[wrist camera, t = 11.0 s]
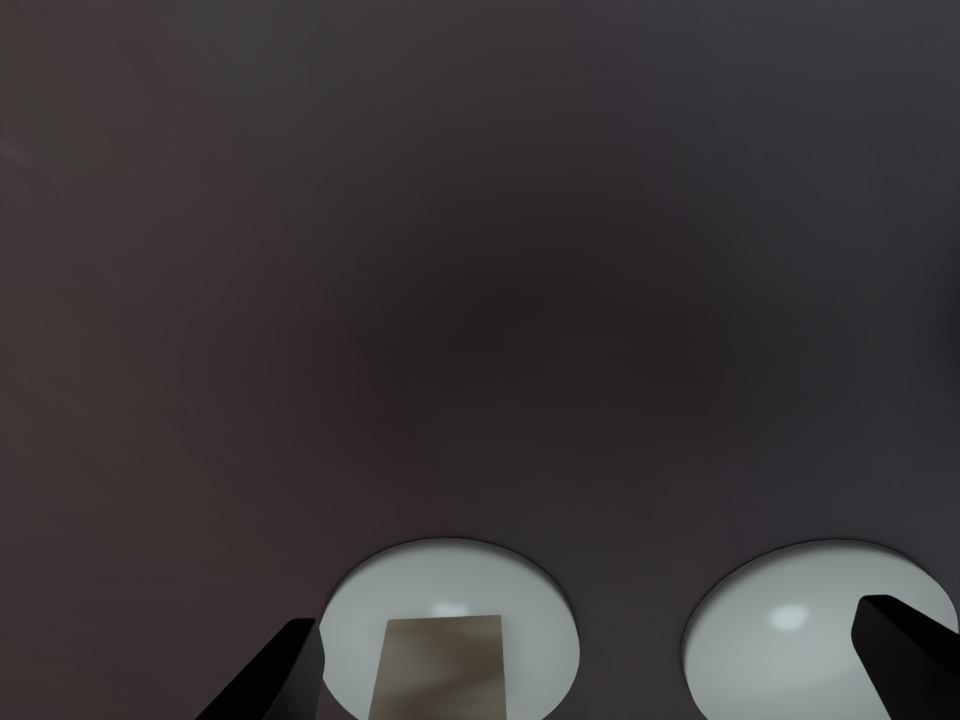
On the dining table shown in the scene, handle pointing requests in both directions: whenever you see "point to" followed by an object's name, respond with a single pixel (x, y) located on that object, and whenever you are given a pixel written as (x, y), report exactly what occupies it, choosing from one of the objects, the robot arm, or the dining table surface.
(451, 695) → the block
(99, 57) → the dining table surface
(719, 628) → the shallow white plate
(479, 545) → the pale round disc
